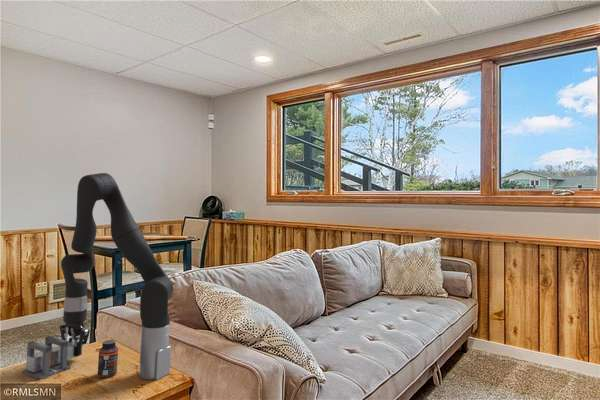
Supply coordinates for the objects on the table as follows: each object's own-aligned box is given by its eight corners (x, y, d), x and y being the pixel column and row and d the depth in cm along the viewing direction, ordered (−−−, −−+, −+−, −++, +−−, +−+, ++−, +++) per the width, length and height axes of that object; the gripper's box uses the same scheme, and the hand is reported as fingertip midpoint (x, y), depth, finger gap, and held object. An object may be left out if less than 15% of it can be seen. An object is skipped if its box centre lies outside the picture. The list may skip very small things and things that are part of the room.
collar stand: (51, 362, 138) (53, 335, 138) (69, 368, 134) (71, 340, 134) (22, 373, 128) (23, 343, 129) (40, 380, 124) (42, 349, 125)
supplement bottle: (108, 379, 127) (110, 345, 127) (93, 377, 128) (95, 343, 128) (120, 372, 132) (122, 339, 133) (105, 370, 134) (107, 337, 134)
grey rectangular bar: (82, 354, 141) (82, 342, 141) (33, 372, 125) (34, 358, 125) (74, 352, 142) (75, 340, 142) (26, 369, 127) (26, 355, 127)
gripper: (53, 307, 140) (50, 354, 139) (78, 313, 134) (76, 362, 133) (72, 303, 146) (70, 347, 146) (98, 308, 141) (95, 355, 140)
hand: (73, 354), depth 140 cm, fingers closed on grey rectangular bar, 4 cm apart
